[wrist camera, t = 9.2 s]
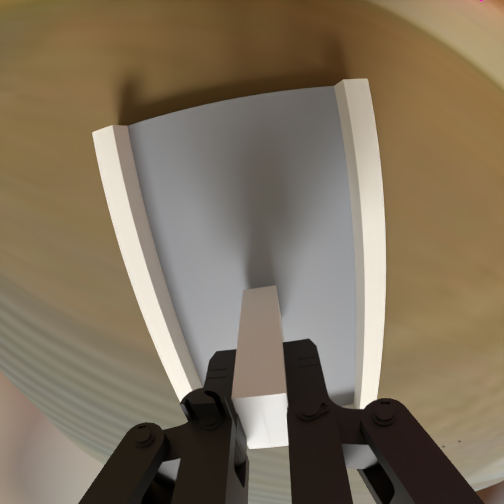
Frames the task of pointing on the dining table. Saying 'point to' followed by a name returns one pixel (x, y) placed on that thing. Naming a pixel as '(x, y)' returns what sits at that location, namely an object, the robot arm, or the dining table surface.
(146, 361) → the dining table surface
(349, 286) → the tray
